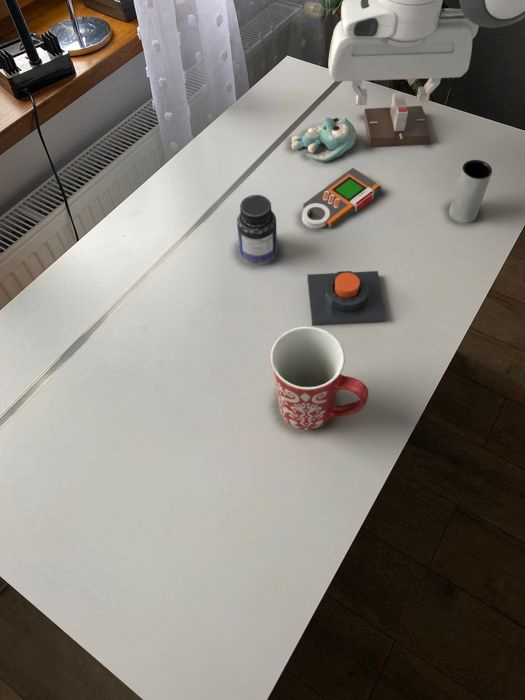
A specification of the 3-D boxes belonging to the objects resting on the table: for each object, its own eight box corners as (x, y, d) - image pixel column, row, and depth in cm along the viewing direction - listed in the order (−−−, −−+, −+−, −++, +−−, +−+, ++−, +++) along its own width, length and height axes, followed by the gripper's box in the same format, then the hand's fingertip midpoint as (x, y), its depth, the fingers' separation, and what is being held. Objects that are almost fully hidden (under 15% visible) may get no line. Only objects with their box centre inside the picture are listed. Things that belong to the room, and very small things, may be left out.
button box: (376, 280, 96) (379, 263, 92) (384, 325, 91) (388, 309, 87) (306, 283, 96) (307, 266, 92) (311, 329, 91) (312, 313, 87)
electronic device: (293, 210, 101) (354, 165, 106) (293, 222, 104) (353, 177, 109) (321, 230, 99) (383, 183, 103) (321, 243, 101) (381, 196, 106)
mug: (260, 420, 83) (256, 368, 71) (292, 371, 87) (292, 315, 75) (343, 462, 79) (352, 415, 67) (372, 409, 83) (385, 356, 72)
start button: (357, 279, 91) (358, 271, 90) (360, 298, 89) (361, 290, 88) (333, 280, 91) (334, 273, 90) (335, 299, 89) (336, 291, 88)
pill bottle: (248, 237, 102) (244, 187, 92) (282, 246, 100) (281, 196, 91) (234, 263, 98) (228, 213, 89) (269, 273, 97) (267, 223, 88)
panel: (418, 117, 118) (421, 102, 115) (428, 151, 112) (431, 136, 110) (362, 120, 118) (364, 105, 115) (369, 154, 112) (371, 139, 110)
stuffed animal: (287, 106, 112) (352, 94, 110) (294, 138, 118) (355, 127, 116) (287, 143, 106) (355, 132, 104) (294, 175, 112) (359, 164, 110)
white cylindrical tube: (461, 230, 101) (477, 182, 92) (442, 215, 103) (456, 166, 94) (480, 219, 102) (498, 171, 93) (461, 204, 104) (477, 155, 96)
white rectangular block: (390, 111, 114) (393, 91, 111) (399, 111, 114) (403, 91, 111) (394, 131, 111) (398, 111, 107) (404, 131, 111) (408, 111, 107)
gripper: (478, -5, 83) (454, 87, 95) (330, 1, 83) (324, 91, 95) (489, 20, 80) (462, 111, 91) (334, 25, 80) (328, 116, 92)
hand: (391, 101), depth 93 cm, fingers open, 8 cm apart
